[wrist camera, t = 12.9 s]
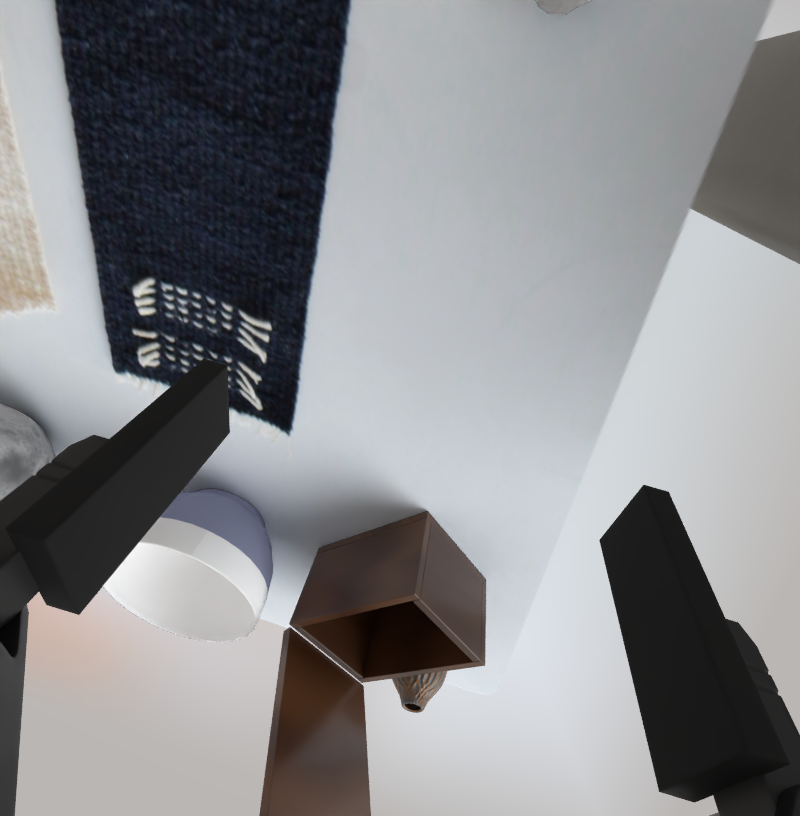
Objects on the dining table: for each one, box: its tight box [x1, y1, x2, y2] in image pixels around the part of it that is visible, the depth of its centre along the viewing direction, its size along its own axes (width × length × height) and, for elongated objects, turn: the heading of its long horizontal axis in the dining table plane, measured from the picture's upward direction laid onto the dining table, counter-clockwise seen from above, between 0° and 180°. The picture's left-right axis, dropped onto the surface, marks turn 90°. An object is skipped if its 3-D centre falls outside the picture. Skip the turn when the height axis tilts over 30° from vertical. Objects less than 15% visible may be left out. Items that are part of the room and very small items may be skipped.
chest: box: [289, 511, 486, 683], centre depth 44 cm, size 15×12×9 cm
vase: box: [392, 671, 447, 713], centre depth 50 cm, size 7×7×9 cm
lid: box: [260, 628, 371, 816], centre depth 36 cm, size 15×12×9 cm
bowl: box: [103, 489, 273, 642], centre depth 44 cm, size 16×16×10 cm
